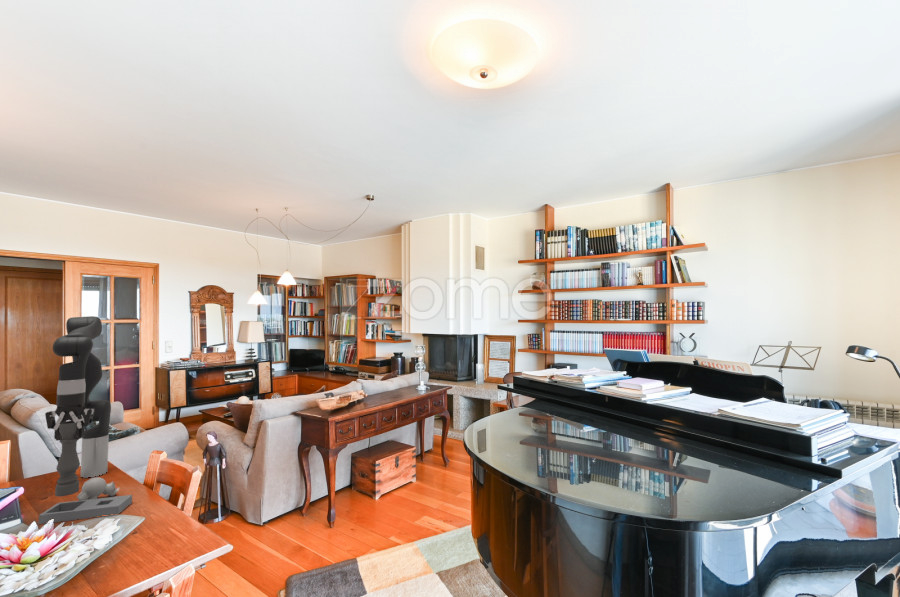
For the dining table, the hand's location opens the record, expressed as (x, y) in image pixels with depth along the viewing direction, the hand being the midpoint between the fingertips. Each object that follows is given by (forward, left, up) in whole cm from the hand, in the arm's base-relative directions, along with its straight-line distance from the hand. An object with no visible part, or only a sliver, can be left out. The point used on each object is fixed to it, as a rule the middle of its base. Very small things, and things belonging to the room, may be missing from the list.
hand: (69, 438), depth 145 cm
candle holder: (0, 0, -19) cm, 19 cm away
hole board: (0, +7, -27) cm, 28 cm away
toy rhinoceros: (-12, +4, -27) cm, 30 cm away
